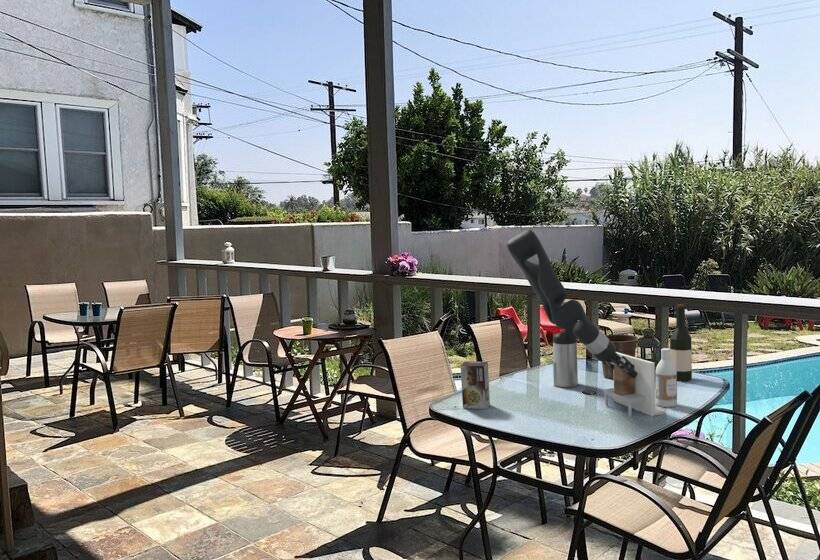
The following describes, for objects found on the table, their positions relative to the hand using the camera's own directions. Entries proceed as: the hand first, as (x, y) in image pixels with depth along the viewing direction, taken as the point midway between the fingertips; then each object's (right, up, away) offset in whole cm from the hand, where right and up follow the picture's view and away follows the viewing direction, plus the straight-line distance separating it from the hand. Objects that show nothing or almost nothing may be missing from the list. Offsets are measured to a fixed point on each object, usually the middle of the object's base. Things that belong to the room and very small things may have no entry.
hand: (627, 373), depth 236 cm
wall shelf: (+2, -12, +2) cm, 13 cm away
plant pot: (+11, -8, +45) cm, 47 cm away
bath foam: (+15, -12, +4) cm, 19 cm away
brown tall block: (-1, -7, 0) cm, 7 cm away
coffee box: (-51, -14, +14) cm, 55 cm away
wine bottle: (+33, -7, +36) cm, 49 cm away
